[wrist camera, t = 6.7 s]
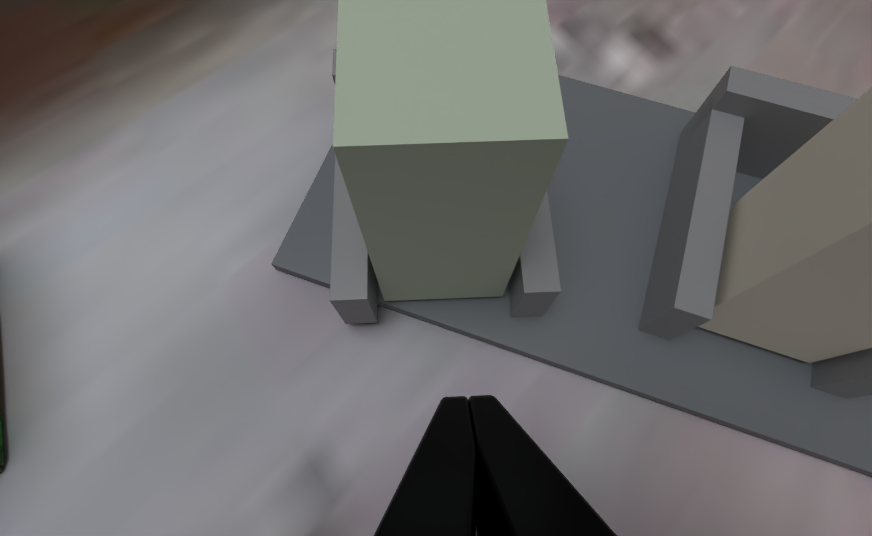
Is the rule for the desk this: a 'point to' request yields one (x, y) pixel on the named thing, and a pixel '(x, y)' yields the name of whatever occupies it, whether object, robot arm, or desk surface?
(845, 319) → the cream box
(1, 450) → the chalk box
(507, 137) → the sage box
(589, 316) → the grey three-slot stand
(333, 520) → the desk surface
